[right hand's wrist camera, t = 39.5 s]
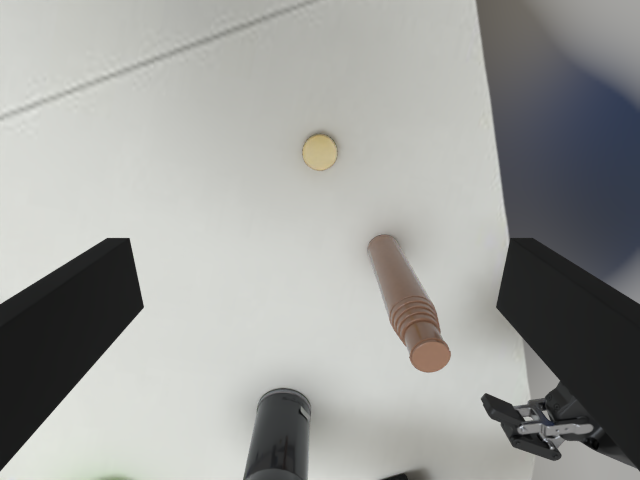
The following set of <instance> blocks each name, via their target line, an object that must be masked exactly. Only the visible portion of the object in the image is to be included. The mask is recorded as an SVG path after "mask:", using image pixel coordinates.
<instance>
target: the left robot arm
mask: <svg viewBox="0 0 640 480" xmlns="http://www.w3.org/2000/svg"><path fill="white" fill-rule="evenodd" d="M481 400H482V402H483V406H484V408H485V410H486V411H487V413H488V415H489V416H490V418H491V419H493V420H496V421H498V422H501V427H502V428H503V430H504V432H505V434H506V435H507V437H508V439H509V441H510V443H511V444H512V446H513V447H515V448H518V449H521V450H524V451H526V452H529V453H532V454H535V455H538V456H541V457H544V458H547V459H550V460H553V461H556V460H558V459H560V458H561V453H560V452H559V451H558V449H557V448H558V447H559V446H560V445H561V444H562V443H563V442H564V441H565V440H567V441H580V442H582V443H583V444H585V445H586V446H588V447H590V448H591V449H593V450H595V451H597V452H599V453H602V454H604V455H606V456H609V457H611V458H613V459H616V460H618V461H620V462H623V463H625V464H627V465H630V466H632V467H634V468H636V466H635V465H634V464H633V463H632V462H631V461H630V460H629V458H628V457H627V456H626V455H625V454H624V453H623V452H622V450H621V449H620V448H619V447H618V446H617V445H616V444H615V442H614V441H613V440H612V439H611V438H610V437H609V436H608V434H607V433H606V432H605V431H604V430H603V429H602V428H601V426H600V425H599V424H598V423H597V422H596V421H595V420H594V418H593V417H592V416H591V415H590V414H589V413H588V412H587V410H586V409H585V408H584V407H583V406H582V405H581V404H580V403H579V401H578V400H577V399H576V398H575V397H574V396H573V395H572V393H571V392H570V391H569V390H568V389H567V388H566V387H565V385H564V384H563V383H562V382H561V381H560V382H559V384H558V385H557V387H556V388H555V389H554V390H552V391H551V392H549V394H547V395H546V397H545V398H542V399H535V400H529V401H528V404H527V405H520V406H512V404H510V403H507V402H505V401H503V400H501V399H498V398H496V397H494V396H491V395H489V394H487V393H485V394H484V395H483V397H482V398H481ZM545 410H547V412H548V415H549V418H550V420H551V421H549V420H548V419H547V418H546V417H545V415H544V414H543V413H542V411H545ZM310 415H311V408H310V404H309V402H308V400H307V399H306V398H305V397H304V396H303V395H301V394H300V393H298V392H296V391H293V390H288V389H278V390H274V391H271V392H269V393H267V394H265V395H264V396H263V397H262V398H261V399H260V401H259V403H258V408H257V415H256V420H255V425H254V429H253V434H252V439H251V444H250V449H249V454H248V459H247V463H246V468H245V473H244V478H243V480H308V457H309V429H310ZM528 416H529V417H532V418H533V421H525V420H524V418H523V417H528Z"/></svg>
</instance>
